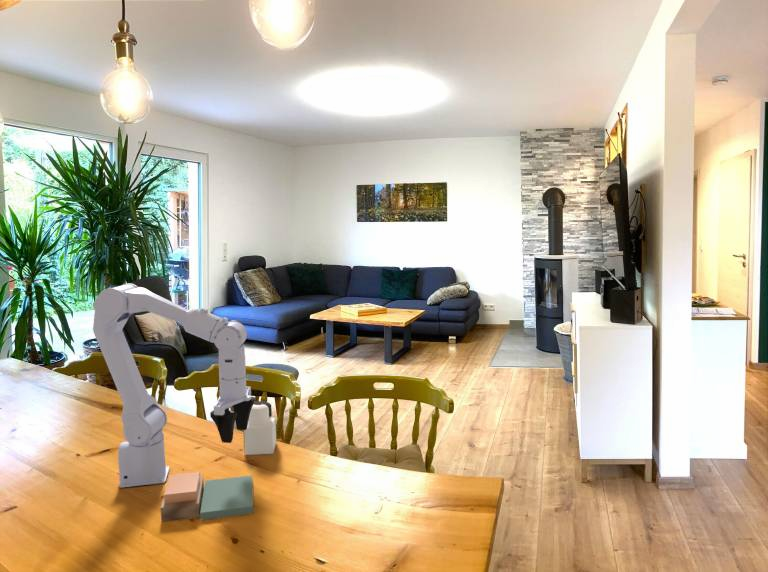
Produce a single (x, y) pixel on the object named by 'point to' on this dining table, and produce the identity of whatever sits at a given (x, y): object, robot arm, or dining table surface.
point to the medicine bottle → (260, 430)
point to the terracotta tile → (182, 487)
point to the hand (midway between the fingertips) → (234, 435)
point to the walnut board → (183, 507)
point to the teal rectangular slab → (227, 497)
